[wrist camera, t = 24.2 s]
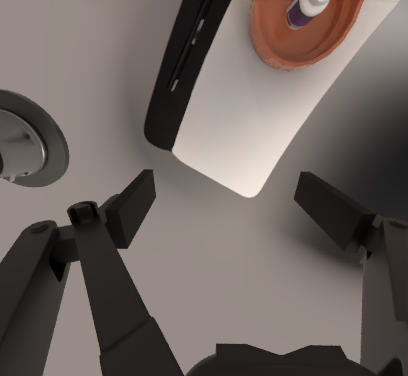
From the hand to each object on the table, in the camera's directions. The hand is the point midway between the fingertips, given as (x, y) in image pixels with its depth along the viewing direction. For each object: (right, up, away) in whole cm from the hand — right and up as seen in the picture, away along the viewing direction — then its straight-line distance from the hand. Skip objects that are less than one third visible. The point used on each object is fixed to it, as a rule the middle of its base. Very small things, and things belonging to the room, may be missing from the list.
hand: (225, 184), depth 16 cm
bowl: (+15, +32, +17) cm, 39 cm away
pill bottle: (+15, +32, +16) cm, 39 cm away
